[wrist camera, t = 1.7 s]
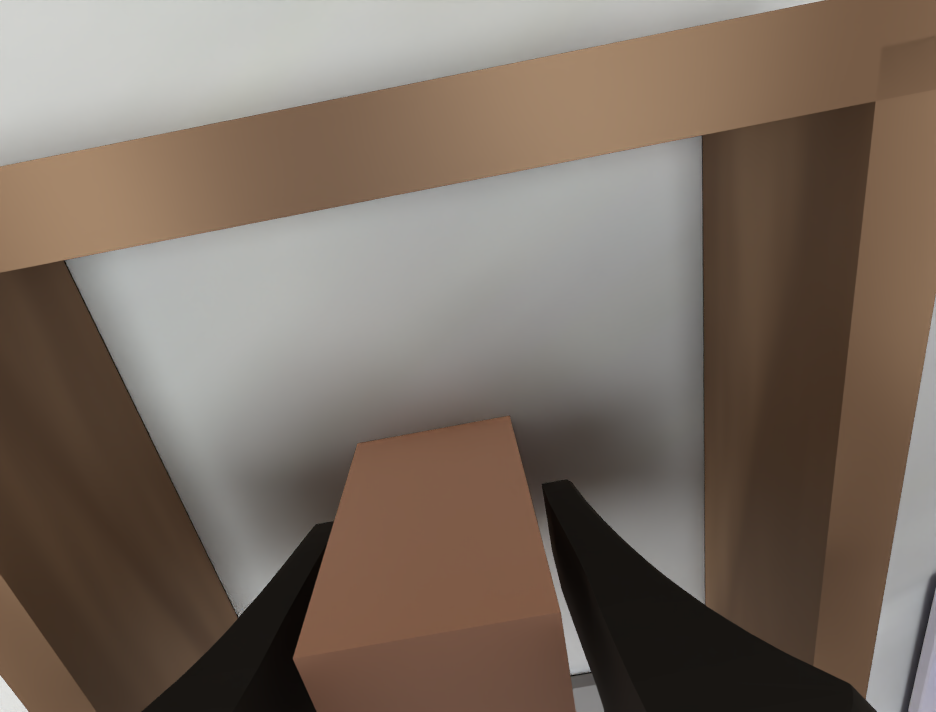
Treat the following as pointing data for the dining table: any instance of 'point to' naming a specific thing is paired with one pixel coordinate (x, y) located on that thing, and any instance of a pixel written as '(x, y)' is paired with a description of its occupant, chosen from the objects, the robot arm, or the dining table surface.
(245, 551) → the dining table surface
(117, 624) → the open wooden frame
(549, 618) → the terracotta block
